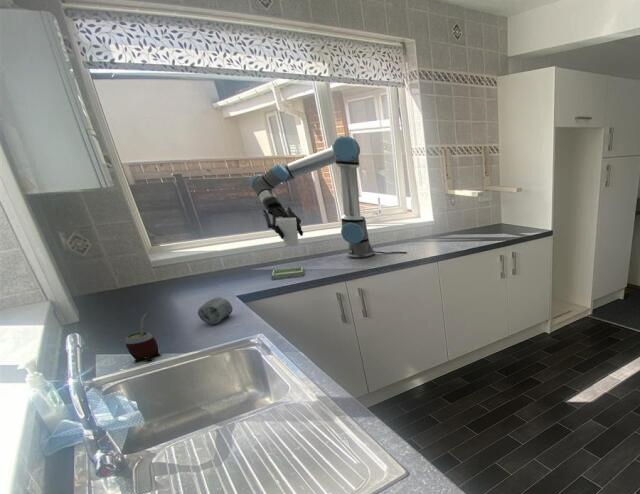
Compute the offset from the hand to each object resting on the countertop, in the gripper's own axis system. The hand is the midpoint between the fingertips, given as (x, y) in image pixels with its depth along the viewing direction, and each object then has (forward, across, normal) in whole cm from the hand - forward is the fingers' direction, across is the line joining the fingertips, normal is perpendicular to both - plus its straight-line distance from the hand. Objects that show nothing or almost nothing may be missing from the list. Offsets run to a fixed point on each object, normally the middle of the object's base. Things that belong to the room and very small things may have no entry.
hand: (292, 235), depth 217 cm
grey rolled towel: (+45, +55, +18) cm, 73 cm away
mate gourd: (+59, +81, +32) cm, 105 cm away
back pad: (+13, +7, -14) cm, 20 cm away
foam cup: (+1, 0, -6) cm, 6 cm away
